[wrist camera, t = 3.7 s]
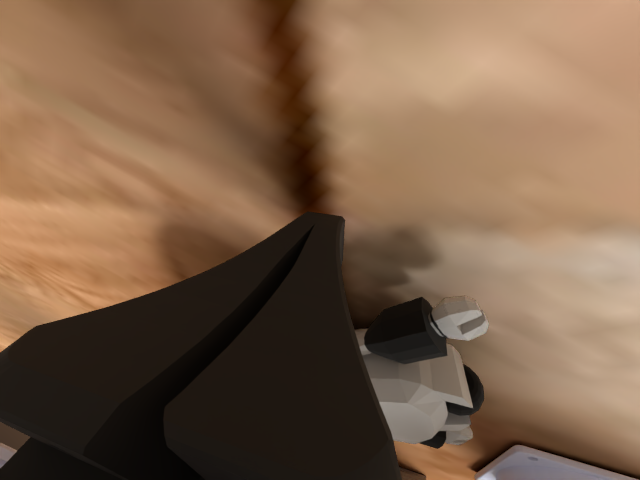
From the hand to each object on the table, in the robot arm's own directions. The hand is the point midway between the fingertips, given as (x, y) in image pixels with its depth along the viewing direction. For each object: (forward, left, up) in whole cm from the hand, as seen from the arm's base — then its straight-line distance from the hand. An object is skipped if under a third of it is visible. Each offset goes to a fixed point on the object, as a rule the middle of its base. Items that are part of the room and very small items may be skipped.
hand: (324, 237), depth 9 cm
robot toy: (0, +8, -2) cm, 9 cm away
